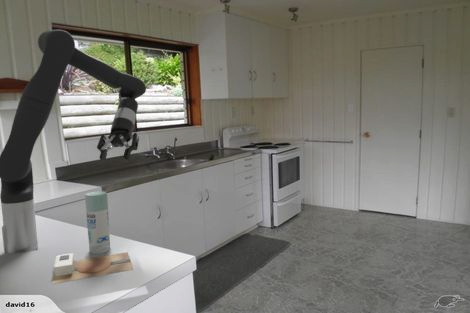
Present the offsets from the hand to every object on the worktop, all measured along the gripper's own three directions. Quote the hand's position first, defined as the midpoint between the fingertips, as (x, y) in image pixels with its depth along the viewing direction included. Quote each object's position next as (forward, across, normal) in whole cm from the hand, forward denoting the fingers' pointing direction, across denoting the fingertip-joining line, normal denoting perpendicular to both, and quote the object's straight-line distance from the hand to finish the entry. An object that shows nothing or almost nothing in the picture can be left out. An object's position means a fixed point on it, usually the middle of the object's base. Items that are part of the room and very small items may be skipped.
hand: (113, 160), depth 123 cm
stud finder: (+38, -4, -4) cm, 38 cm away
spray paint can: (+30, -2, +9) cm, 32 cm away
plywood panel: (+38, +4, 0) cm, 38 cm away
